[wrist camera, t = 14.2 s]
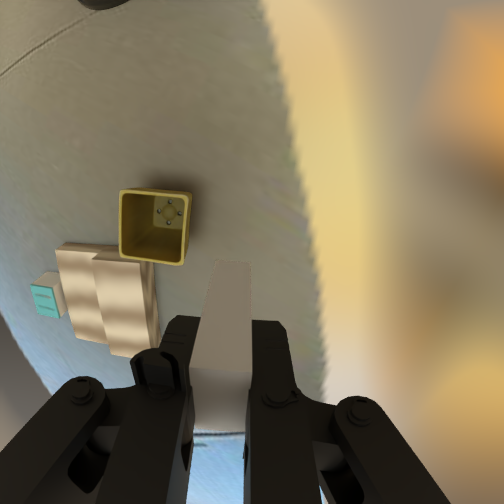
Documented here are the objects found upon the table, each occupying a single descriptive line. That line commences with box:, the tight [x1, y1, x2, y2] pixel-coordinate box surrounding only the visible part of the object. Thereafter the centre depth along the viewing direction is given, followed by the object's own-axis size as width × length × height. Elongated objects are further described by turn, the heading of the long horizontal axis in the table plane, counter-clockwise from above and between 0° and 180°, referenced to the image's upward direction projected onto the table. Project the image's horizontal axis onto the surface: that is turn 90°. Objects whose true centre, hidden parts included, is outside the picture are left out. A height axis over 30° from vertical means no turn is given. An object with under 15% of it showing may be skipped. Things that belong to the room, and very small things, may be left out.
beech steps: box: [55, 243, 161, 358], centre depth 43 cm, size 18×17×6 cm
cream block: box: [30, 271, 68, 318], centre depth 43 cm, size 6×6×6 cm
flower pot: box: [119, 188, 192, 266], centre depth 37 cm, size 9×9×9 cm
